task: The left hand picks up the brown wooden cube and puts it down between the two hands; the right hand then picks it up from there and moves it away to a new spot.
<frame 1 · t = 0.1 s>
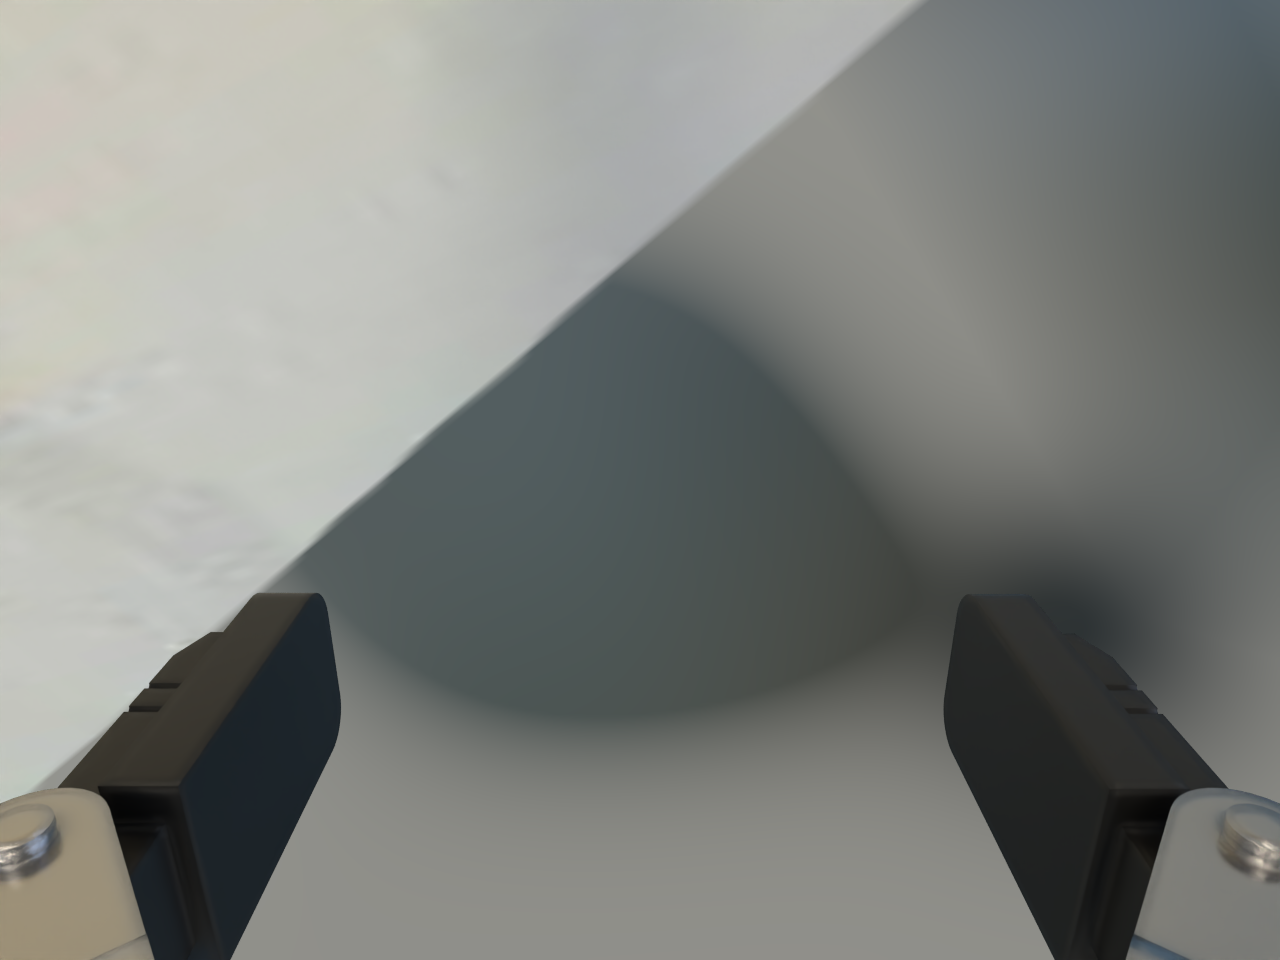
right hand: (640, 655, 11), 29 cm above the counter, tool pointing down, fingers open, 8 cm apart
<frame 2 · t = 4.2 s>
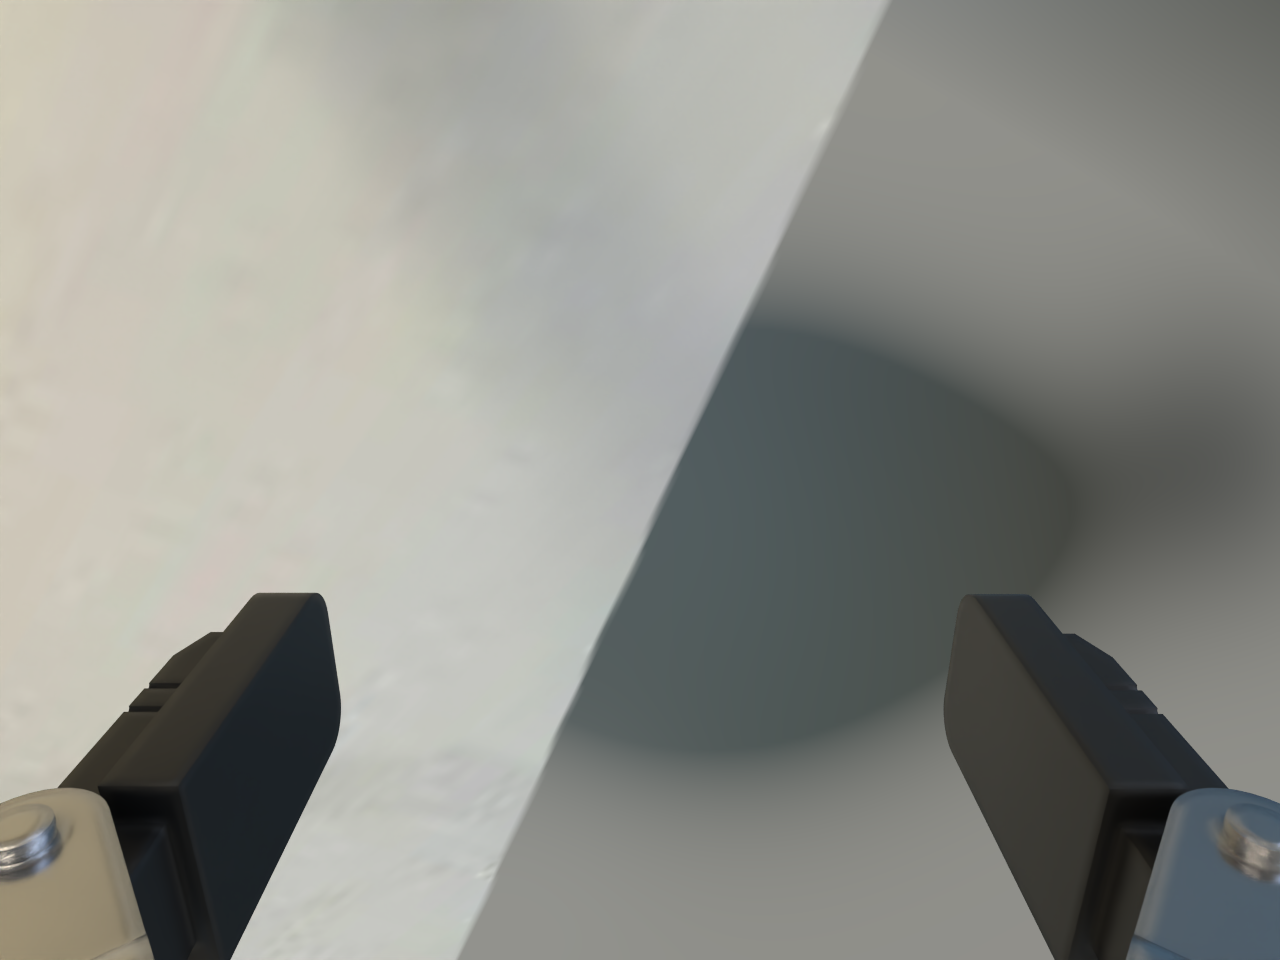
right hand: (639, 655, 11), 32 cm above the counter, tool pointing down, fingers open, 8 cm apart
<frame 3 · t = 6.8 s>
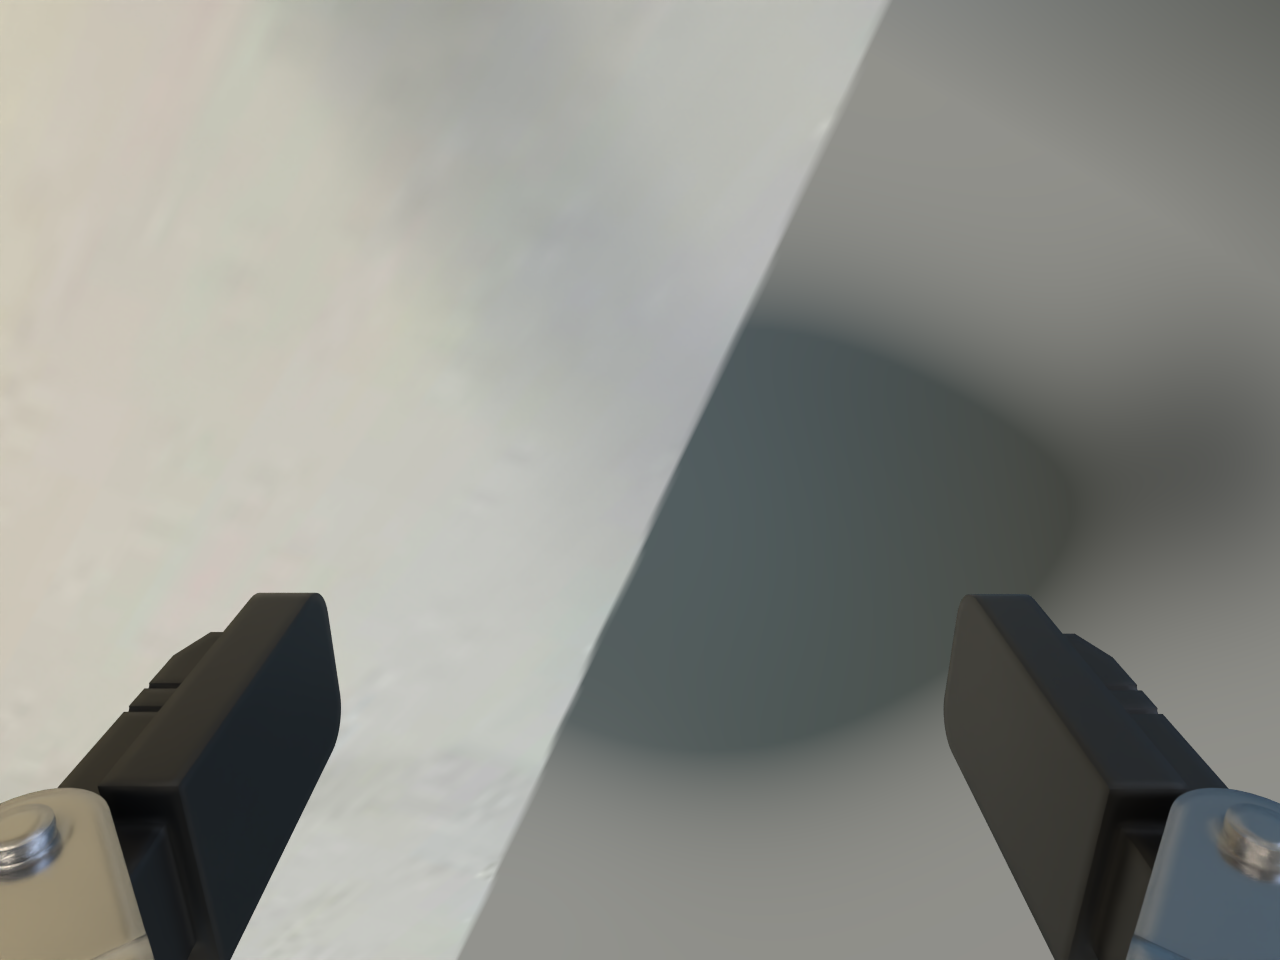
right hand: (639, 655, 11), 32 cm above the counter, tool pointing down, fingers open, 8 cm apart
when the left hand's fingers open (2 cm above the counter, at t = 9.7 s): brown wooden cube stays where it is, on the counter.
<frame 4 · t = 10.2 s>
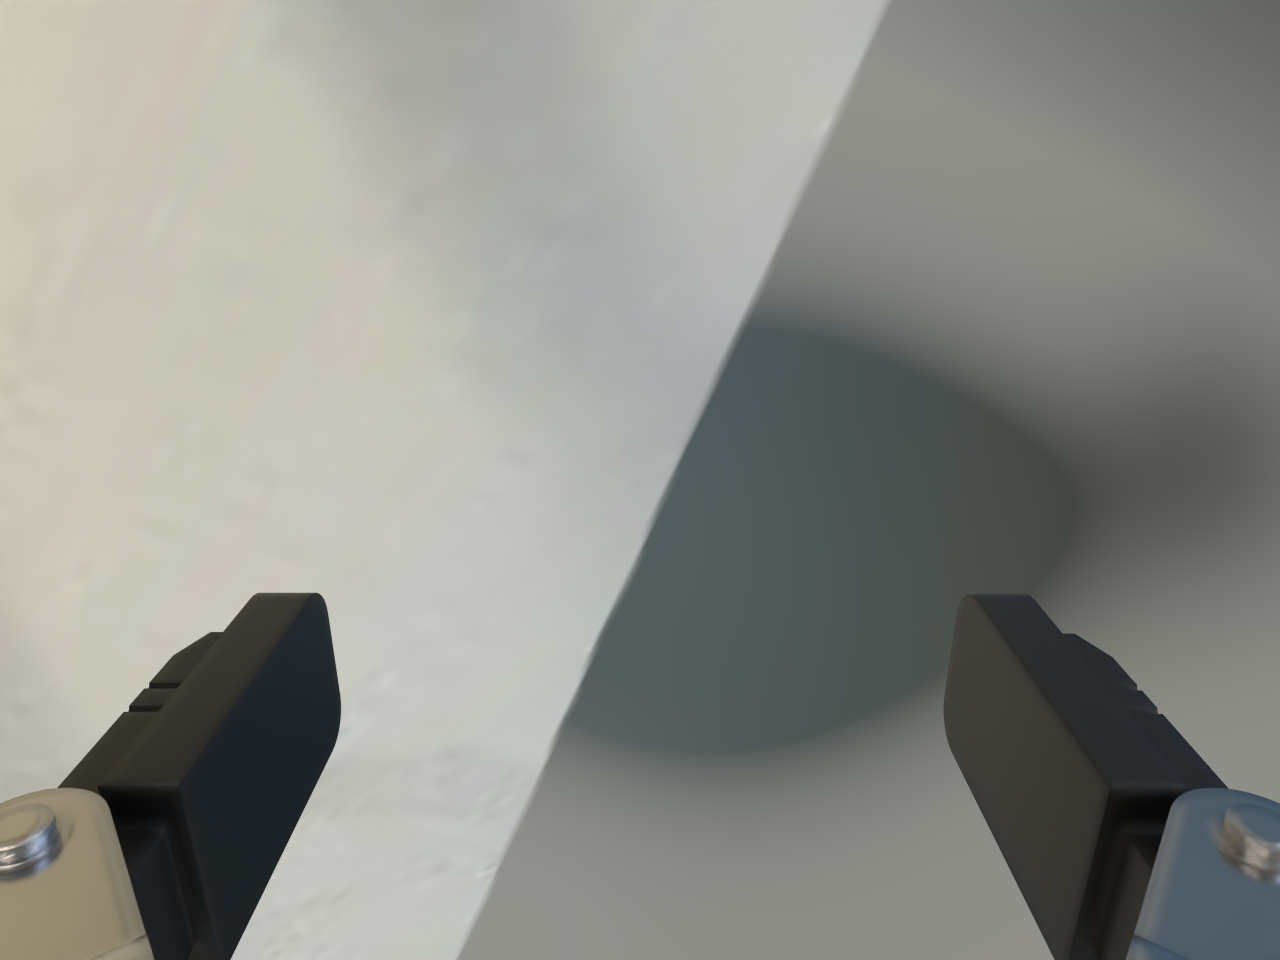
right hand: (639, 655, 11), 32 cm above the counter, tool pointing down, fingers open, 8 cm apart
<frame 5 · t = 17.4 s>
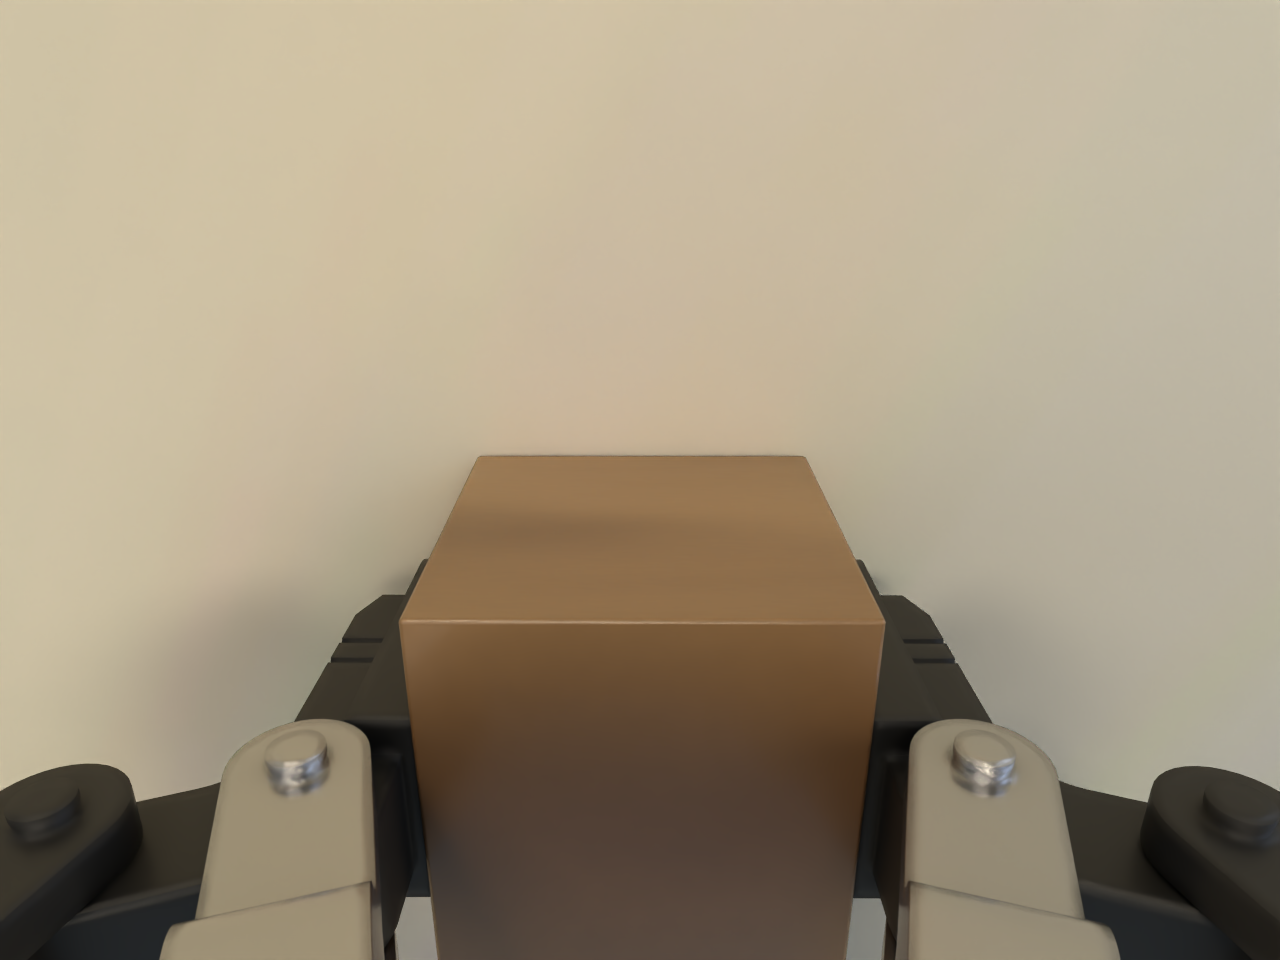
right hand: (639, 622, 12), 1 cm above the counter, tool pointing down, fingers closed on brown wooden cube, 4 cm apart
brown wooden cube: (641, 600, 13), on the counter, touching right hand
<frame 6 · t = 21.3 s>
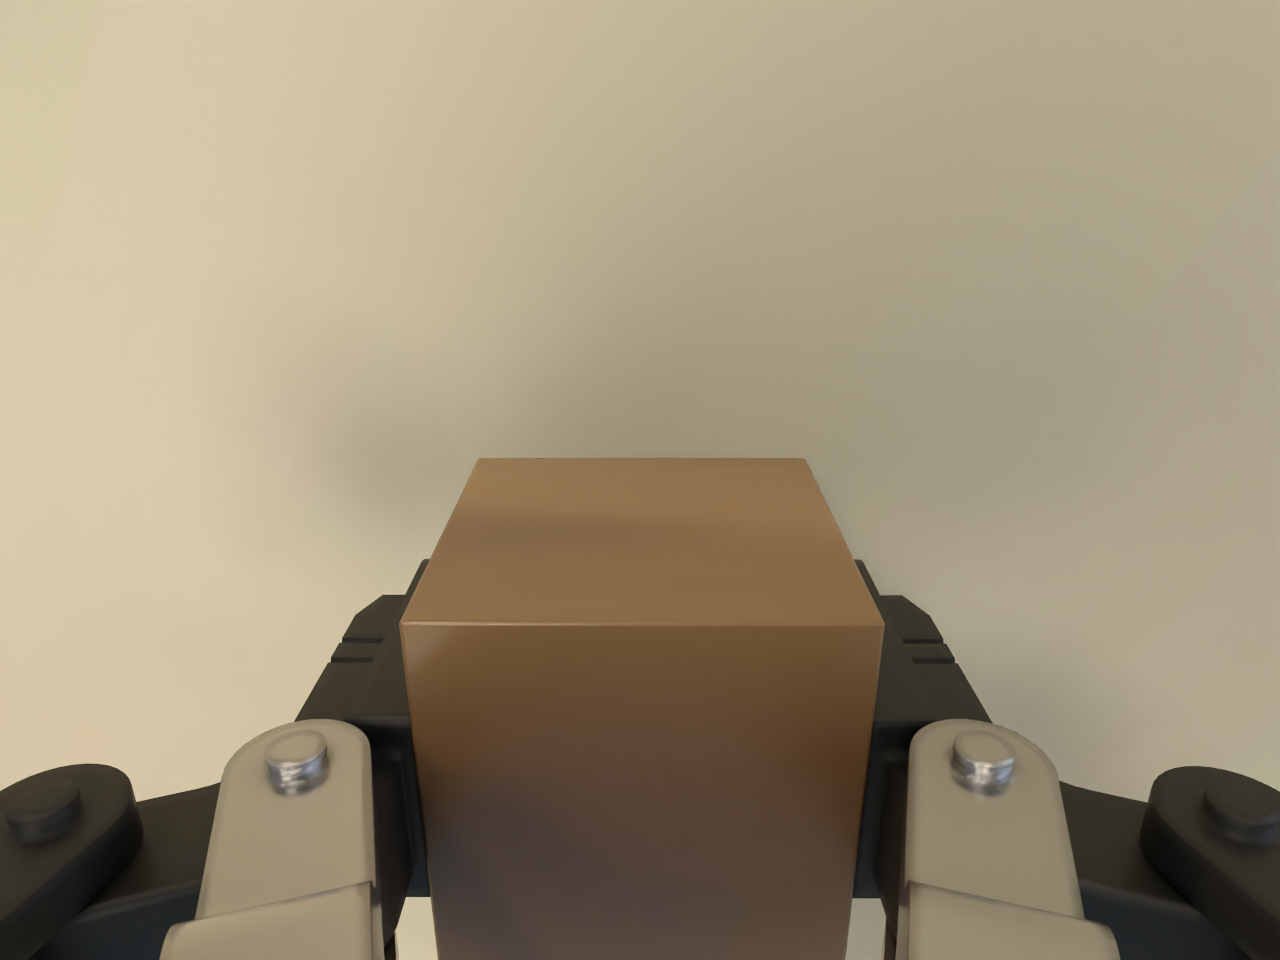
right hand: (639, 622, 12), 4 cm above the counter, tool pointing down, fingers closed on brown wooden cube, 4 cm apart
brown wooden cube: (641, 602, 13), point 4 cm above the counter, touching right hand
when the right hand's fingers open (1 cm above the counter, at t = 25.6 s): brown wooden cube stays where it is, on the counter.
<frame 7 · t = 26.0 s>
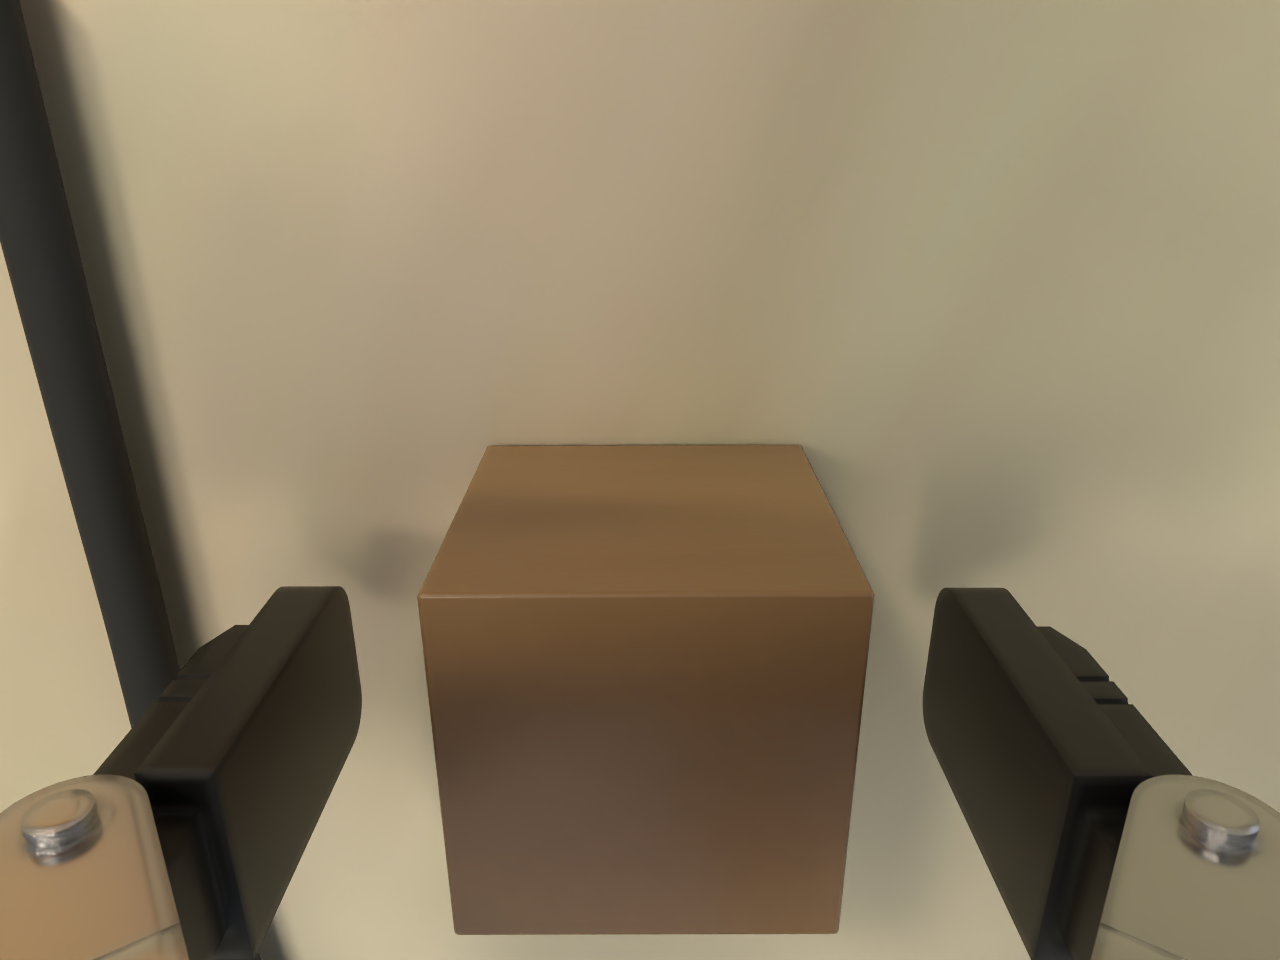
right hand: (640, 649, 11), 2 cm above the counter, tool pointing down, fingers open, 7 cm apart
brown wooden cube: (644, 584, 13), on the counter
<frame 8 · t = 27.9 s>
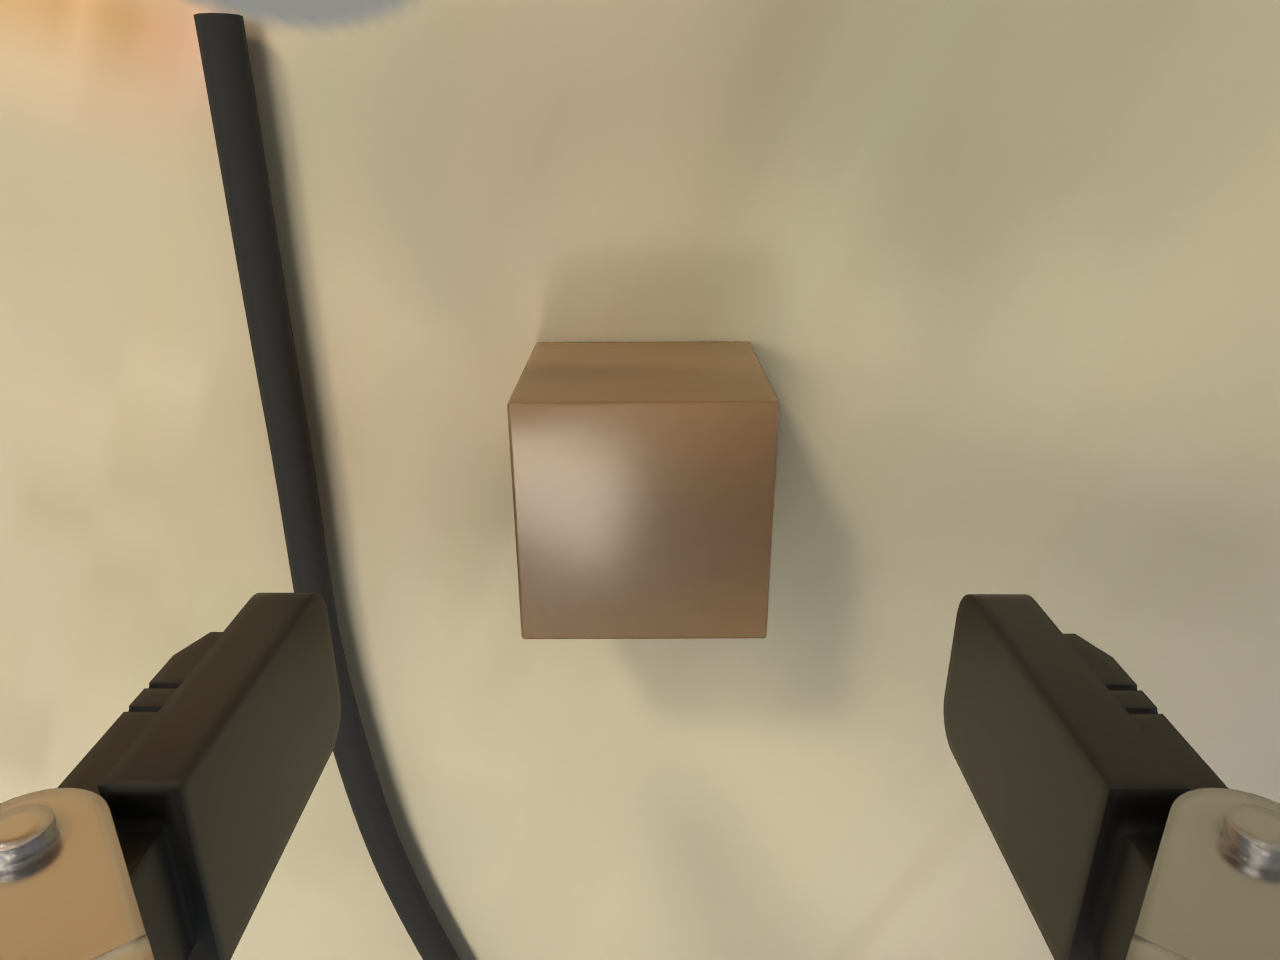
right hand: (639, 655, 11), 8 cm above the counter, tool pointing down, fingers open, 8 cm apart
brown wooden cube: (643, 443, 19), on the counter
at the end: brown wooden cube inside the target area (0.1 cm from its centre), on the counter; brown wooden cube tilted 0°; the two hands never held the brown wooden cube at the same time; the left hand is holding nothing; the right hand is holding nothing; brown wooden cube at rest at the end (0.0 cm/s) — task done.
